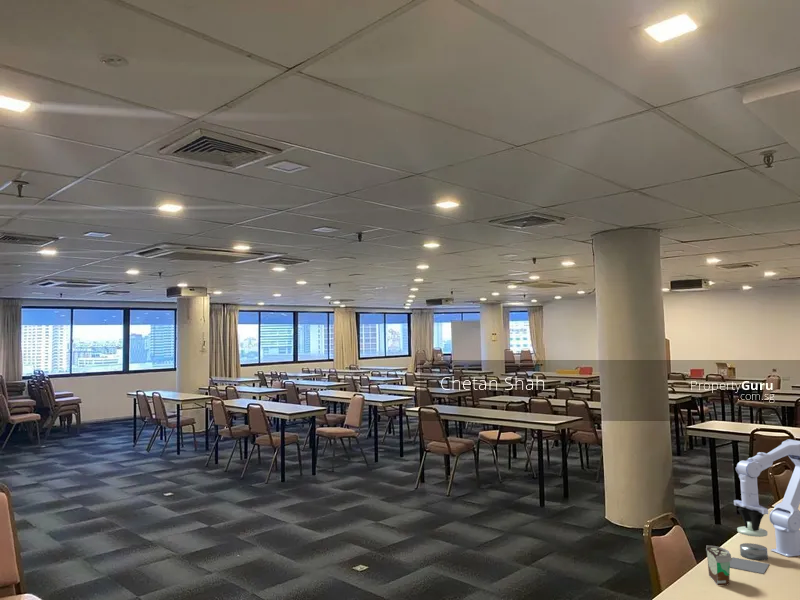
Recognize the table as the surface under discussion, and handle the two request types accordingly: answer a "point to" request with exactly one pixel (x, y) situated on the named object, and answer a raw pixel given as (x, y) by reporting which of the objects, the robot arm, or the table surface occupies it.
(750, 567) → the mat
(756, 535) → the lid
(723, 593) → the table surface
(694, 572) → the table surface
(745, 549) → the tin
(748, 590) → the table surface
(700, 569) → the table surface
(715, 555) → the food container
